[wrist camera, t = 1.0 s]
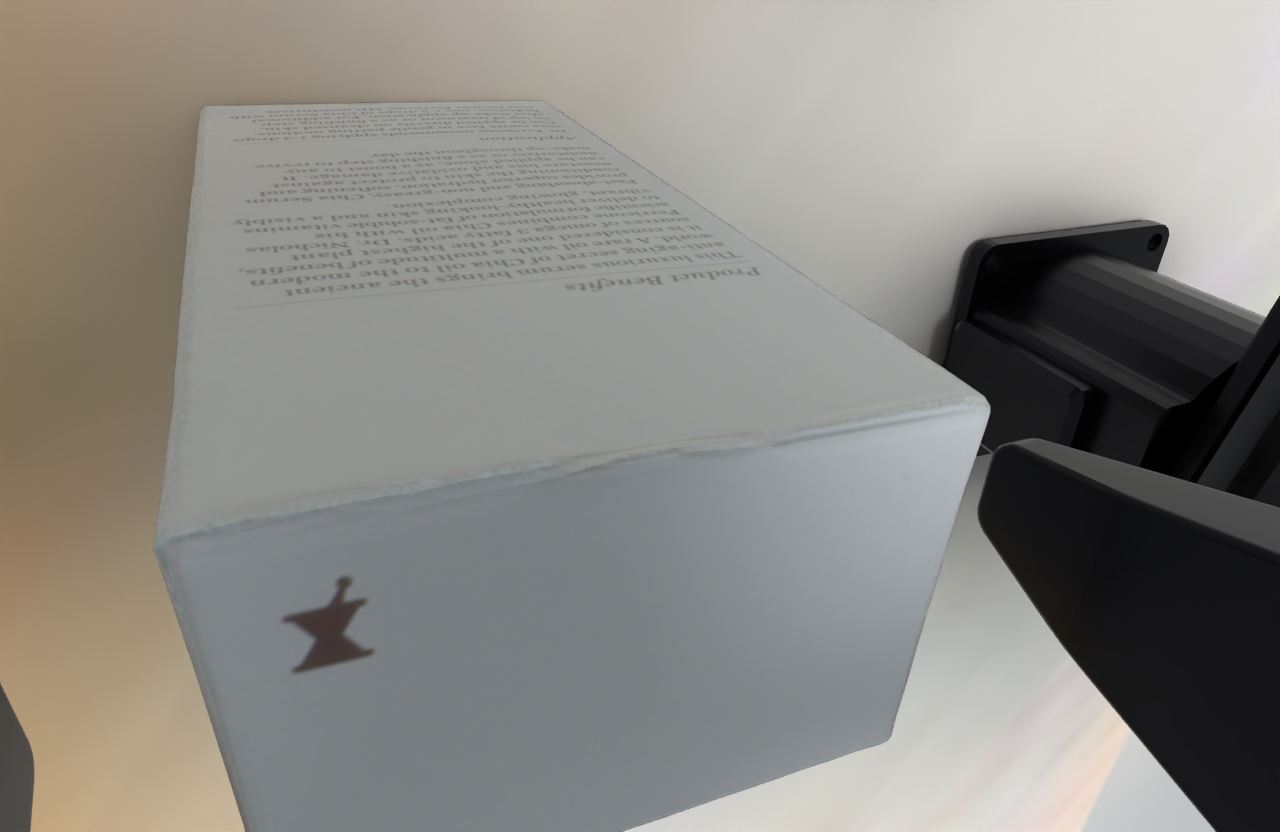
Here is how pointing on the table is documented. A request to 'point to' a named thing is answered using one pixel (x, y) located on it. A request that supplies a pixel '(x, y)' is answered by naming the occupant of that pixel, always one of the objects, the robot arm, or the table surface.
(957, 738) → the table surface
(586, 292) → the skincare box
